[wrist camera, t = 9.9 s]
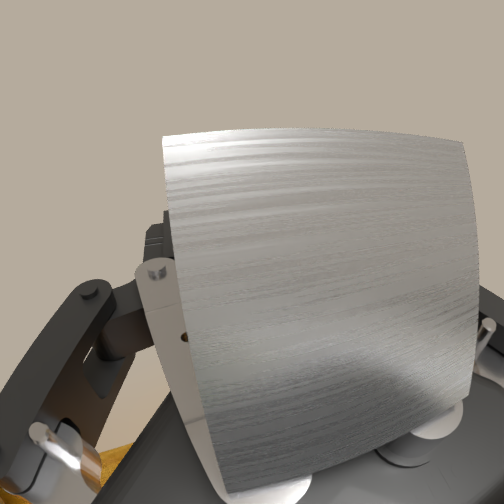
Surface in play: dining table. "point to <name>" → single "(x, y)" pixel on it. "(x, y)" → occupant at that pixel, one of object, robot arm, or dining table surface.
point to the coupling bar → (321, 290)
